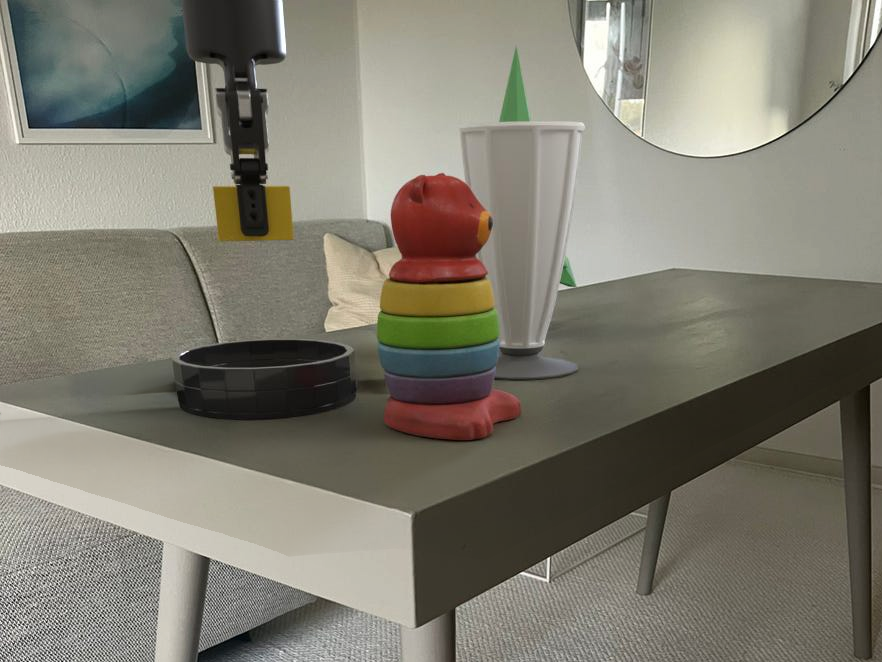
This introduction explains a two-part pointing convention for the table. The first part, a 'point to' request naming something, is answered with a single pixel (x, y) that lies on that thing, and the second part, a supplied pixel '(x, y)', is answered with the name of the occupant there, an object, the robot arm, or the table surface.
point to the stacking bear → (440, 316)
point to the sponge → (276, 211)
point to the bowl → (265, 378)
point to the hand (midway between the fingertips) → (254, 232)
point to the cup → (524, 230)
